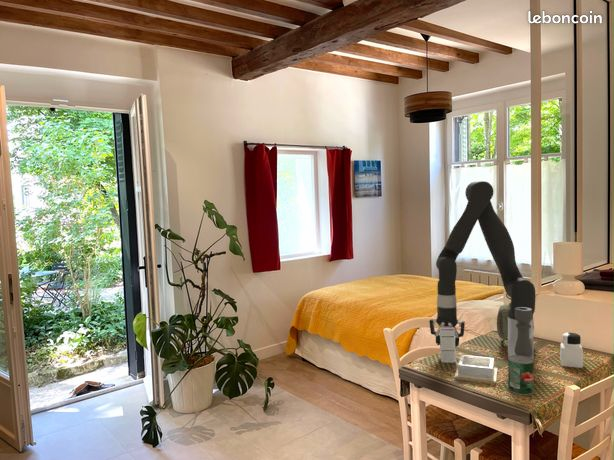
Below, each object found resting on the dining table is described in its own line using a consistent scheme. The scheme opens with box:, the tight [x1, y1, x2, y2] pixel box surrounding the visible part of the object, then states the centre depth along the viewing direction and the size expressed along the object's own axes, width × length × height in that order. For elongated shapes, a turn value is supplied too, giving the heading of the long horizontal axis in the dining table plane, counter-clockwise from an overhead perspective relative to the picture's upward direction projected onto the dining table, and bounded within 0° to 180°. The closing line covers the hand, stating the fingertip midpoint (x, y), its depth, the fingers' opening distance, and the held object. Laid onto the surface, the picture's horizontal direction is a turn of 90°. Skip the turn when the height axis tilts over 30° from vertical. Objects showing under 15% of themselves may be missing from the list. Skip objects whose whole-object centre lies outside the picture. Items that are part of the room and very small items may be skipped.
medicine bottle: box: [559, 332, 584, 369], centre depth 179 cm, size 7×7×12 cm
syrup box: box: [438, 325, 457, 364], centre depth 187 cm, size 6×6×14 cm
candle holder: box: [514, 307, 534, 357], centre depth 168 cm, size 6×6×25 cm
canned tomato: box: [507, 355, 535, 396], centre depth 156 cm, size 8×8×11 cm
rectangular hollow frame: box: [454, 354, 499, 385], centre depth 172 cm, size 14×14×5 cm
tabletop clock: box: [496, 293, 535, 345], centre depth 200 cm, size 14×9×25 cm, turn 65°
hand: (447, 345), depth 188 cm, fingers closed on syrup box, 6 cm apart
